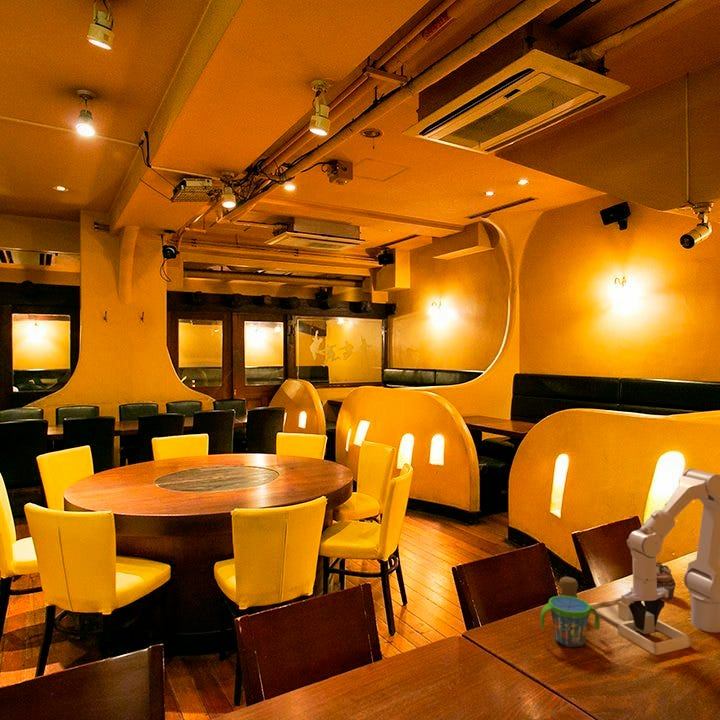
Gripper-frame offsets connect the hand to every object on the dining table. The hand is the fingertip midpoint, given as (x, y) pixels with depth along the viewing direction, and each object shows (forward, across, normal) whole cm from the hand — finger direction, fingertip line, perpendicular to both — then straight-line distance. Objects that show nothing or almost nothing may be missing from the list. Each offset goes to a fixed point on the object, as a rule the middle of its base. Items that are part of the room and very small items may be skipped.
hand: (645, 627), depth 143 cm
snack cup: (+3, +20, -6) cm, 21 cm away
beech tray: (+3, -3, -12) cm, 13 cm away
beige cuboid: (+2, -3, -9) cm, 10 cm away
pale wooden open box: (+3, 0, +2) cm, 4 cm away
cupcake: (+3, -26, -19) cm, 32 cm away
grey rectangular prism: (+1, 0, 0) cm, 1 cm away
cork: (+3, +10, -18) cm, 21 cm away
